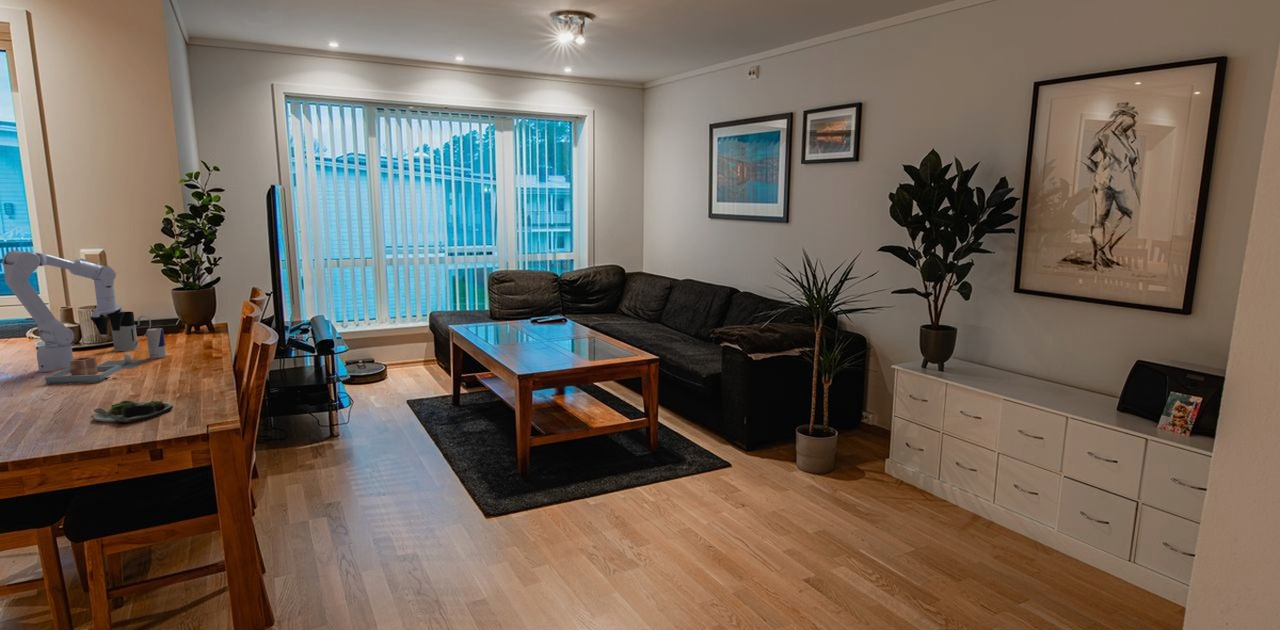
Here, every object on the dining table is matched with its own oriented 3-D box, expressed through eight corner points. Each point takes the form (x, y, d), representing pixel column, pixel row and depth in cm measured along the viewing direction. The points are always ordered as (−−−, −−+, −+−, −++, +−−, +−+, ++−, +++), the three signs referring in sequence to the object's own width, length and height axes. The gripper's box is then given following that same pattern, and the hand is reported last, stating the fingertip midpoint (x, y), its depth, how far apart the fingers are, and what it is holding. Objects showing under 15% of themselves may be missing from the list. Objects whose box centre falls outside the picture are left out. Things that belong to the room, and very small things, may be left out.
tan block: (71, 377, 236) (69, 360, 234) (88, 372, 242) (85, 356, 241) (86, 377, 235) (83, 360, 234) (101, 372, 242) (99, 356, 241)
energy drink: (169, 358, 267) (166, 328, 265) (159, 361, 262) (155, 330, 260) (157, 357, 267) (153, 327, 265) (146, 361, 262) (142, 330, 260)
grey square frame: (46, 384, 230) (45, 377, 229) (70, 373, 243) (69, 367, 243) (100, 382, 233) (99, 375, 233) (122, 371, 246) (121, 365, 246)
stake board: (88, 372, 245) (86, 360, 244) (109, 363, 259) (108, 351, 258) (132, 370, 248) (131, 358, 247) (151, 361, 261) (150, 350, 261)
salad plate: (70, 424, 193) (67, 408, 192) (124, 405, 210) (122, 390, 209) (133, 427, 190) (131, 411, 190) (182, 408, 208) (180, 393, 207)
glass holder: (119, 347, 285) (114, 311, 282) (158, 345, 288) (154, 310, 285) (108, 352, 276) (104, 315, 274) (149, 350, 280) (144, 314, 277)
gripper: (106, 294, 267) (111, 328, 270) (81, 300, 253) (86, 336, 256) (126, 294, 268) (130, 328, 271) (101, 300, 254) (106, 336, 256)
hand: (110, 332), depth 263 cm, fingers open, 7 cm apart
